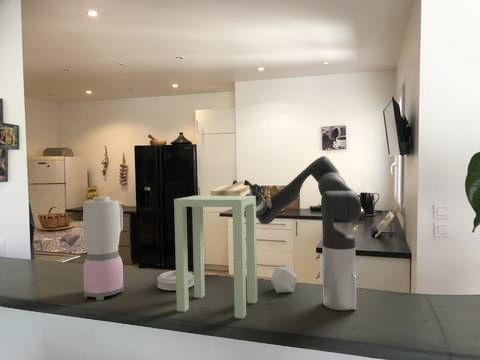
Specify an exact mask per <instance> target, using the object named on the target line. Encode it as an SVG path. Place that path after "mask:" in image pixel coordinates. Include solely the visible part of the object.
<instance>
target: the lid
mask: <svg viewBox="0 0 480 360" xmlns="http://www.w3.org/2000/svg"><path fill="white" fill-rule="evenodd" d="M156 280H157V288H158V289H160V290H164V291H176V269H174V270H169V271H165V272H162V273H160V275H158V276H157V278H156ZM190 287H191V288H192V287H194V273H192V272H191V271H189V270H188V289H189V288H190Z"/></svg>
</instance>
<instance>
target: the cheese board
mask: <svg viewBox="0 0 480 360" xmlns="http://www.w3.org/2000/svg"><path fill="white" fill-rule="evenodd" d="M237 182H238V183H236V184H233V183H232V184H233V185H232V184H231V185H221V186H219V187H216V188H214V189H211V190H210V191H209V193H210V194H209V195H210V196H245V195H247V194H248V193H250V189H249V185H246V186H244V182H245V180H244V181H243V180H242V181H237Z"/></svg>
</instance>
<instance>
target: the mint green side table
mask: <svg viewBox="0 0 480 360" xmlns="http://www.w3.org/2000/svg"><path fill="white" fill-rule="evenodd" d="M173 204H174V205H173V206H174V207H173V208H174V245H175V248H174V249H175V270H176V290H175V291H176V312H183V313H186V311H188V310H189V308H190V306H189V305H190V304H189V303H190V302H189V288H188V271H189V266H188V261H189V260H188V224H187V223H188V221H187V217H188V216H187V207H190V208H191V210H192V211H191V213H192V247H193V248H192V252H193V255H192V257H193V258H192V259H193V274H194V278H193V281H194V285H193V293H194V296H193V298H198V299H202V298H204V297H205V295H206V294H205V292H206V289H205V287H206V286H205V247H204V244H205V243H204V241H205V239H204V238H205V237H204V208H232V249H233V250H232V252H233V257H232V258H233V295H234V296H233V298H234V299H233V302H234V304H233V305H234V318H235V319H245V317H246V316H247V304H256V303H257V302H258V258H257V257H258V256H257V251H258V250H257V215H256V196H211V195H191V196H187V197H186V196H185V197H181V198H180V197H179V198H174V199H173Z"/></svg>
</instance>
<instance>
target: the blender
mask: <svg viewBox="0 0 480 360" xmlns="http://www.w3.org/2000/svg"><path fill="white" fill-rule="evenodd" d="M82 204H83V205H82V208H83V211H82V214H83V215H82V224H83V225H82V226H83V228H82V229H83V236H84V242H85V247H86V258H85V261H84V263H83V270H82V272H83V297H84V299H88V297H91V298H95V299H96V301H104V300H105V299H104V298H105V297H107V296H113V295H116V294H118V293H122V294H123V293H124V266H123V265H124V264H123V259H122V258H121V255H120V253H119V245H120V237H121V233H122V231H124V210H123V207H122V205H121V204H120V201H119V200H118V199H111V197H110V196H93V197H92V200H86V201H84V202H83V203H82Z"/></svg>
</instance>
